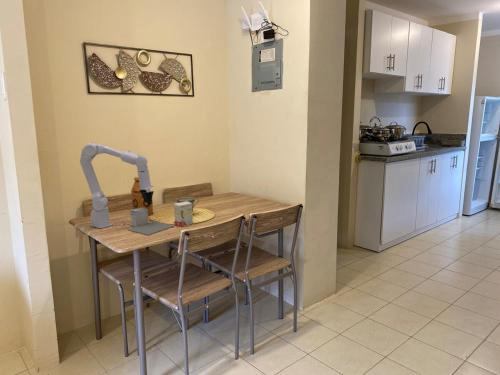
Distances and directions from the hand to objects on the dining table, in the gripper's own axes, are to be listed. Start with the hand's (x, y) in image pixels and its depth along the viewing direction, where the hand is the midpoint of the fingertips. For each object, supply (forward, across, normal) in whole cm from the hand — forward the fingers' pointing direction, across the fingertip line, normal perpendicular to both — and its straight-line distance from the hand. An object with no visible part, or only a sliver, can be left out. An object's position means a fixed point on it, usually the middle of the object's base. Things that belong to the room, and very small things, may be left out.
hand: (148, 203), depth 201 cm
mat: (+11, -11, +2) cm, 16 cm away
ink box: (+13, -13, -14) cm, 23 cm away
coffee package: (+11, +21, 0) cm, 24 cm away
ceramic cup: (+13, +6, -23) cm, 27 cm away
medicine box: (+11, -1, +6) cm, 13 cm away
